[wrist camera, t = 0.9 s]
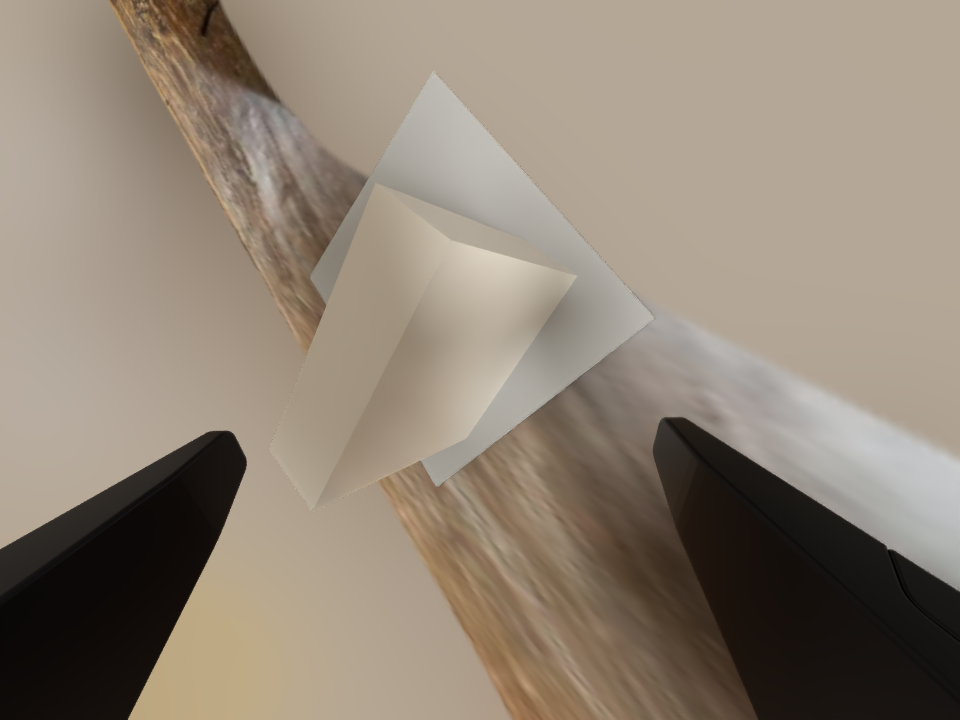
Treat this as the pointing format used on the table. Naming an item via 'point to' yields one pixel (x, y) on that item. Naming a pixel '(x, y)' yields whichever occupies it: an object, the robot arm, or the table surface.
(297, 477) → the cream block
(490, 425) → the mat
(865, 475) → the table surface
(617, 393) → the table surface
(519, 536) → the table surface
